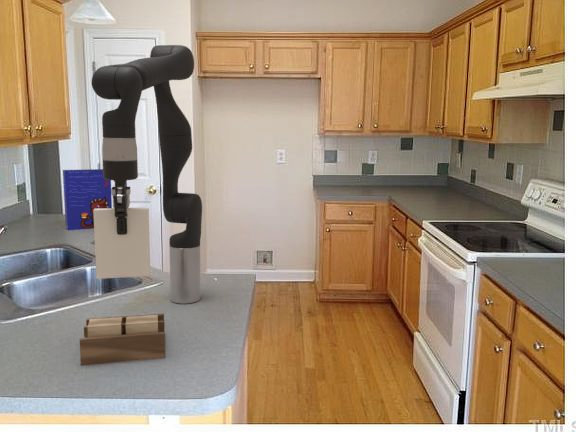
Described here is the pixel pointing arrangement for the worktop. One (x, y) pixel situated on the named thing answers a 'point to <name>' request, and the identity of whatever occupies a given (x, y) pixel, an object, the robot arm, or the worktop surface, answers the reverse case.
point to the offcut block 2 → (142, 324)
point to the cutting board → (122, 244)
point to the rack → (123, 345)
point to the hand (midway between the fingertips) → (122, 232)
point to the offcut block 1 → (105, 327)
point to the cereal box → (84, 196)
